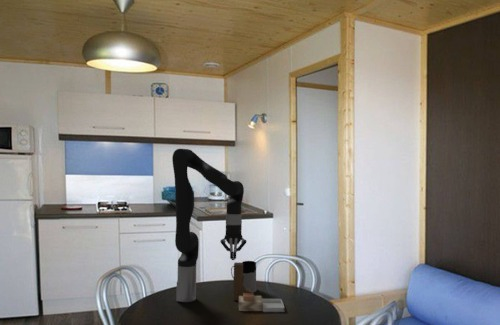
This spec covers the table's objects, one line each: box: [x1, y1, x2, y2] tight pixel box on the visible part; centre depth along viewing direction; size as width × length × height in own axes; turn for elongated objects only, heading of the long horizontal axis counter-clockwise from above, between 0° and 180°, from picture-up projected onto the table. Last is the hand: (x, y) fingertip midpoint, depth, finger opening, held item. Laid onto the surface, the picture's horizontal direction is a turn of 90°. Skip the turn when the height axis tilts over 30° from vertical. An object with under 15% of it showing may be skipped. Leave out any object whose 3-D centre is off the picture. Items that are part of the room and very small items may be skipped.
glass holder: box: [230, 260, 257, 293], centre depth 207 cm, size 9×14×15 cm, turn 102°
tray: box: [262, 298, 286, 313], centre depth 183 cm, size 10×12×2 cm
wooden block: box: [232, 262, 252, 302], centre depth 193 cm, size 9×4×18 cm, turn 89°
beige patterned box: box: [238, 295, 263, 312], centre depth 182 cm, size 11×9×4 cm
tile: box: [243, 292, 255, 301], centre depth 182 cm, size 5×5×2 cm
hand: (233, 259), depth 182 cm, fingers closed
